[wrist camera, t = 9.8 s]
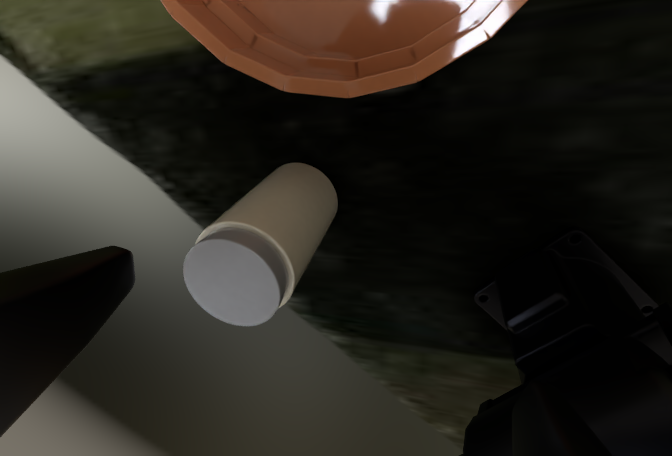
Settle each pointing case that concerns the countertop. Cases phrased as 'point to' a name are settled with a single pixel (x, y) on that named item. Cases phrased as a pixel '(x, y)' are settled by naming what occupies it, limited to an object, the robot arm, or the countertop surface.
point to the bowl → (341, 39)
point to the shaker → (261, 246)
